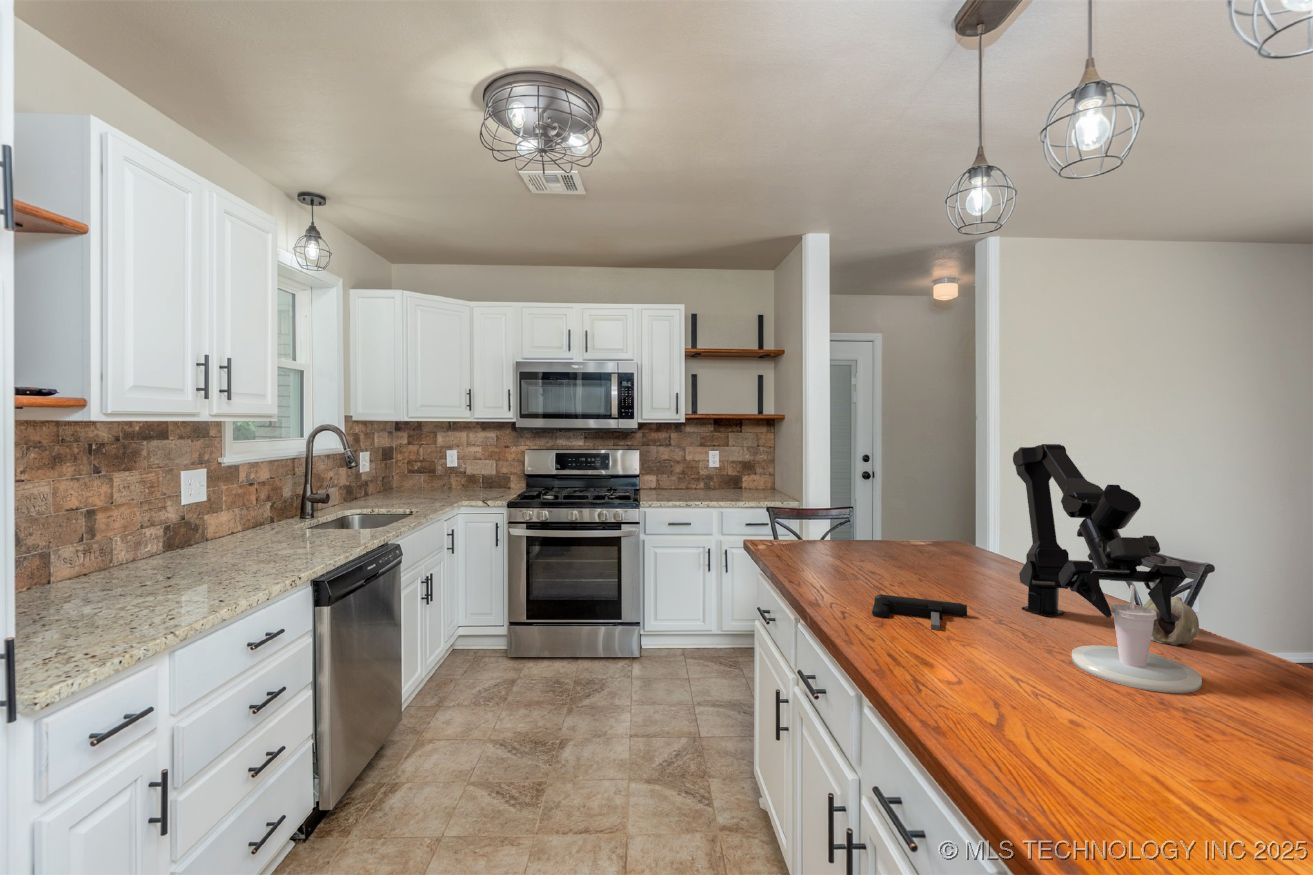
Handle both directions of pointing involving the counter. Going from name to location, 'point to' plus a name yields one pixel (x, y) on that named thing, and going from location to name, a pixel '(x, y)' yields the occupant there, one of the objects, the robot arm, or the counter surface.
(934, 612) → the door handle
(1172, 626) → the olive hollow round lump
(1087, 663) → the plate
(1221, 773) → the counter surface
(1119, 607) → the smoothie
